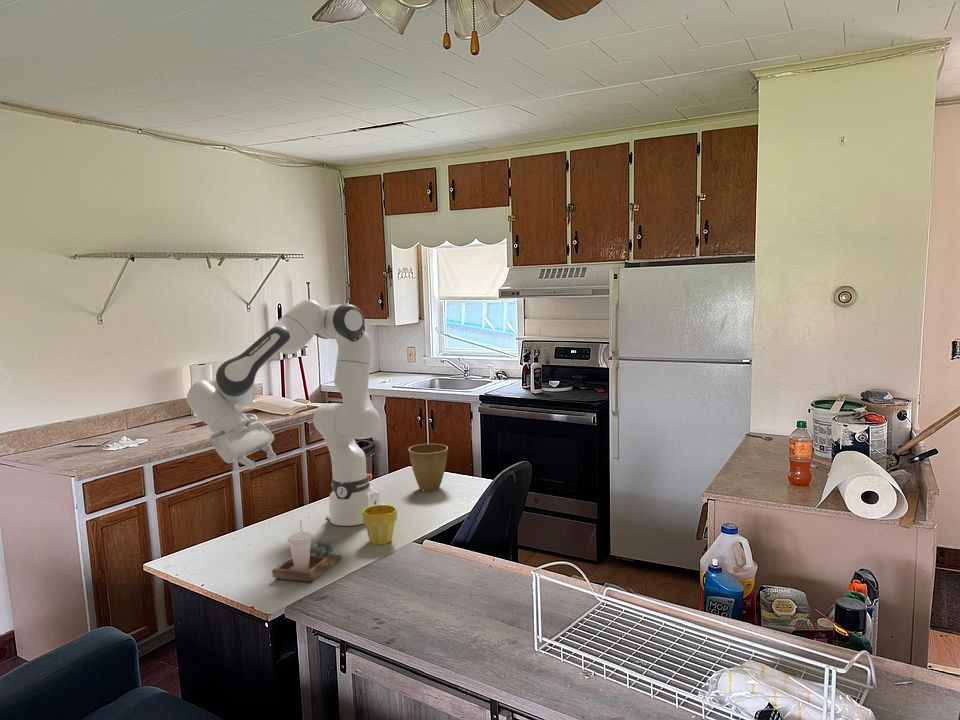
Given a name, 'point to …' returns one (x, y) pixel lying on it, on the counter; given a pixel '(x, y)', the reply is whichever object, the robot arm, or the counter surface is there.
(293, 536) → the smoothie
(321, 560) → the brown wooden tray
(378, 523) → the plant pot
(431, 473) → the plant pot
